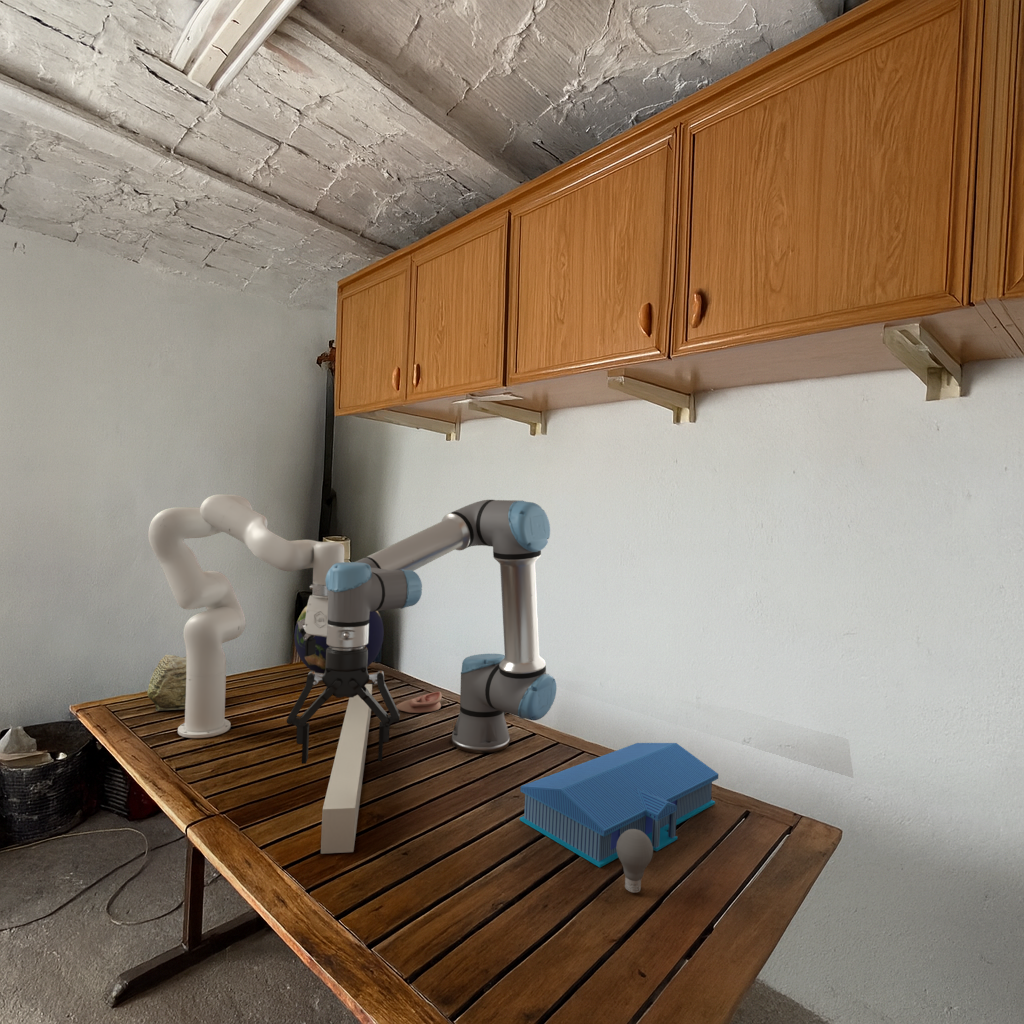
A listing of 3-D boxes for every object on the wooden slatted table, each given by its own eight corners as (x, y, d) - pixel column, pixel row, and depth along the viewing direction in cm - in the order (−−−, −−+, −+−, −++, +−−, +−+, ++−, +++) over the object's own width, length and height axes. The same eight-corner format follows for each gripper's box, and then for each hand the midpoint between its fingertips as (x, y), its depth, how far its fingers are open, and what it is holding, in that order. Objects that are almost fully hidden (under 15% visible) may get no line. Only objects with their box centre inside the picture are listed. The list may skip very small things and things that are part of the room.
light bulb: (610, 879, 108) (613, 822, 108) (644, 879, 109) (647, 822, 109) (619, 902, 102) (622, 840, 102) (655, 901, 103) (658, 840, 103)
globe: (273, 681, 212) (276, 592, 212) (330, 661, 240) (333, 582, 239) (347, 695, 201) (350, 601, 200) (398, 673, 229) (401, 590, 228)
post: (351, 711, 187) (352, 684, 187) (371, 710, 188) (372, 684, 188) (320, 853, 113) (322, 809, 113) (353, 852, 114) (355, 807, 114)
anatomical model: (391, 697, 188) (405, 686, 200) (390, 710, 188) (404, 699, 200) (433, 702, 186) (445, 691, 197) (433, 715, 186) (445, 703, 197)
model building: (614, 876, 110) (616, 818, 109) (518, 819, 128) (520, 770, 127) (729, 809, 136) (731, 762, 136) (635, 769, 154) (637, 729, 154)
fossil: (144, 707, 182) (145, 655, 182) (212, 696, 194) (213, 647, 194) (151, 716, 175) (153, 662, 175) (221, 703, 188) (223, 653, 188)
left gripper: (290, 589, 161) (288, 656, 161) (347, 595, 155) (345, 665, 155) (309, 586, 168) (307, 650, 168) (365, 591, 162) (363, 658, 162)
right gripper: (272, 651, 112) (268, 770, 112) (415, 651, 116) (411, 765, 116) (280, 641, 119) (276, 753, 119) (414, 641, 123) (410, 749, 124)
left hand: (325, 657), depth 161 cm, fingers open, 9 cm apart
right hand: (342, 759), depth 118 cm, fingers open, 13 cm apart
